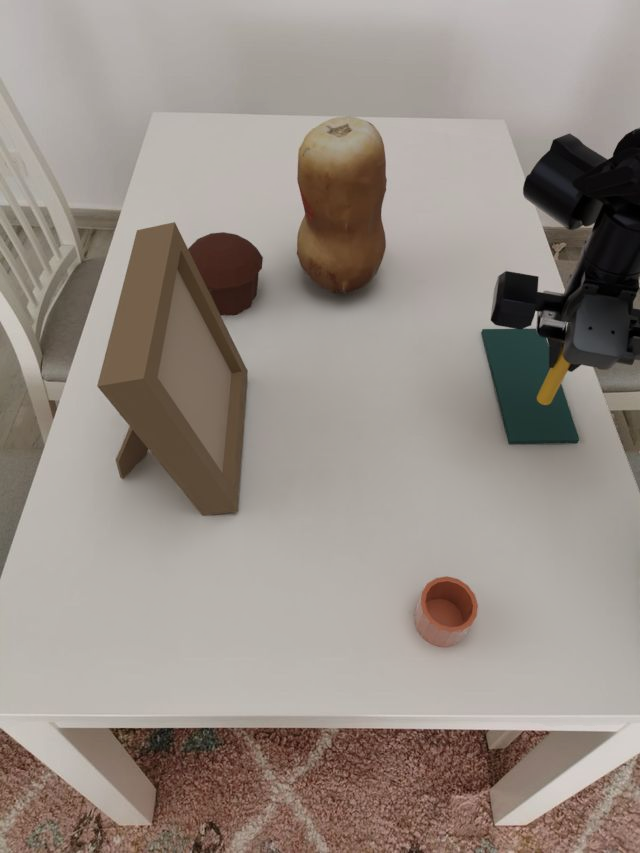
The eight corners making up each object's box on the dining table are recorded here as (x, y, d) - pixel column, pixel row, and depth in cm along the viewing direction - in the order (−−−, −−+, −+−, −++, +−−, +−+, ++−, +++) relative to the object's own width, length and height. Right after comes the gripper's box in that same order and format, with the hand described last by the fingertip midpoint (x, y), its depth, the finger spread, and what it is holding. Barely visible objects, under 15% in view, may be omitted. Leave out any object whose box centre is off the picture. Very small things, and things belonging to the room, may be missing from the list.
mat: (577, 443, 80) (580, 439, 79) (508, 444, 79) (510, 440, 79) (541, 332, 91) (543, 328, 91) (481, 332, 91) (482, 328, 91)
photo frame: (248, 375, 86) (228, 221, 66) (238, 515, 73) (209, 377, 53) (141, 376, 86) (87, 222, 65) (112, 516, 73) (35, 379, 53)
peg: (551, 395, 75) (583, 332, 66) (551, 406, 74) (583, 344, 65) (536, 392, 75) (566, 329, 66) (536, 403, 74) (566, 341, 65)
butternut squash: (289, 260, 101) (283, 105, 80) (368, 247, 103) (381, 93, 82) (309, 318, 93) (308, 162, 73) (394, 303, 95) (416, 148, 75)
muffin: (178, 314, 93) (165, 260, 85) (203, 267, 99) (194, 213, 91) (254, 327, 91) (248, 274, 83) (274, 279, 98) (271, 225, 90)
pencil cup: (469, 603, 67) (480, 584, 63) (463, 654, 64) (474, 638, 59) (418, 590, 68) (425, 570, 63) (409, 640, 65) (416, 623, 60)
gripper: (507, 295, 54) (469, 405, 66) (734, 335, 51) (650, 441, 64) (515, 219, 60) (479, 332, 73) (717, 251, 58) (644, 362, 70)
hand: (560, 366), depth 70 cm, fingers closed on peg, 2 cm apart
